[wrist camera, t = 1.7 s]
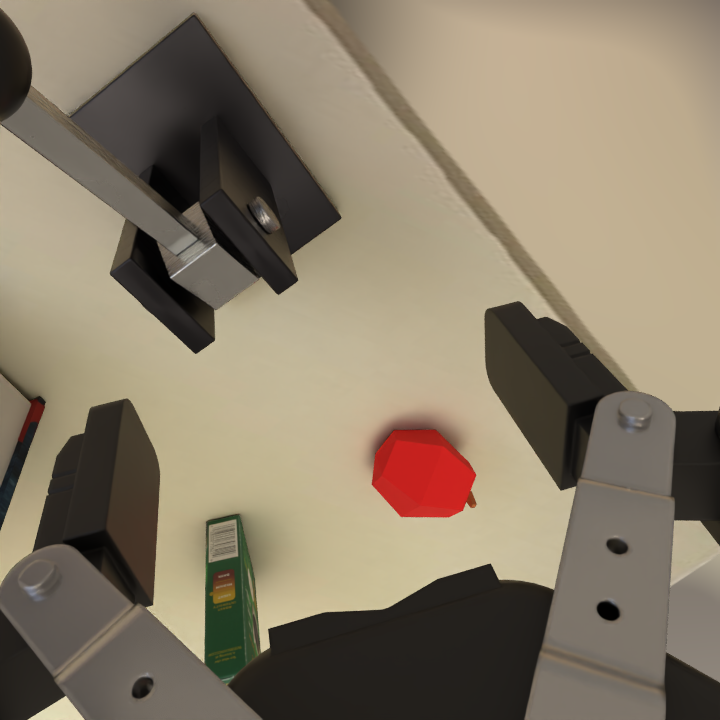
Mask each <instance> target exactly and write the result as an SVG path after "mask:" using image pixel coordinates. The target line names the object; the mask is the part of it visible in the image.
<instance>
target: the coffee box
mask: <svg viewBox="0 0 720 720" xmlns="http://www.w3.org/2000/svg"><path fill="white" fill-rule="evenodd" d="M259 654H261V651H260V638H259V625H258V612H257V601H256V588H255V578H254V574H253V569H252V565H251V561H250V557H249V553H248V548H247V544H246V539H245V535H244V531H243V527H242V522H241V518H240V516H239V515H235V516H231V517H226V518H222V519H217V520H211V521H207V522H206V584H205V665H206V666H207V667H208V668H209V669H210V670H211V671H212V672H213V673H214V674H216V675H217V676H218V677H219V678H220V679H221V680H222V681H223V682H224V683H225V684H226V685H227V684H228V683H229V682H230V681H231V680H232V679H233V678H234V677H235V675H236V674H237V673H238V672H239V671H240V670H241V669H242V668H243V667H244V666H246V665H247V664H248V663H249V662H250V661H251V660H253V659H254V658H255V657H257V656H258V655H259Z"/></svg>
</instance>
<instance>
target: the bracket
mask: <svg viewBox="0 0 720 720" xmlns="http://www.w3.org/2000/svg"><path fill="white" fill-rule="evenodd" d="M68 117H69V118H70V119H71V120H73V121H74V122H75V123H76V124H77V125H78V126H80V127H81V128H82V129H83V130H84V131H85V132H87V133H88V134H89V135H90V136H91V137H93V138H94V139H95V140H96V141H97V142H98V143H100V144H101V145H102V146H103V147H104V148H105V149H107V150H108V151H109V152H110V153H111V154H112V155H114V156H115V157H116V158H117V159H118V160H120V161H121V162H122V163H123V164H124V165H125V166H127V167H128V168H129V169H130V170H131V171H132V172H134V173H135V174H136V175H137V176H138V177H140V178H141V179H142V180H143V181H144V182H145V183H147V184H148V185H149V186H150V187H151V188H152V189H154V190H155V191H156V192H157V193H158V194H160V195H161V196H162V197H163V198H164V199H165V200H167V201H168V202H169V203H170V204H171V205H172V206H174V207H175V208H176V209H177V210H178V211H180V212H181V213H183V212H185V211H186V210H187V209H189V208H190V207H191V206H193V205H194V204H195V203H196V202H199V205H200V208H201V209H202V210H203V211H204V212H205V213H206V214H207V215H208V217H209V218H210V219H211V220H212V221H213V222H214V223H215V225H216V226H217V227H218V228H219V229H220V230H221V231H222V232H223V234H224V235H225V236H226V237H227V238H228V239H229V240H230V242H231V243H232V244H233V245H234V246H235V247H236V248H237V249H238V251H239V252H240V253H241V254H242V255H243V256H244V257H245V259H246V260H247V261H248V262H249V263H250V264H251V265H252V267H253V268H254V269H255V271H256V273H257V275H258V277H259V278H260V277H262V278H263V279H264V280H265V281H266V282H267V284H268V285H269V286H270V287H271V288H272V289H273V290H274V291H275V293H276V294H278V295H279V294H281V293H282V292H283V291H285V290H286V289H288V288H289V287H290V286H292V285H293V284H295V283H296V282H297V281H298V278H297V274H296V271H295V267H294V264H293V260H292V257H291V255H292V254H293V253H294V252H296V251H297V250H299V249H300V248H301V247H303V246H304V245H305V244H307V243H308V242H310V241H311V240H312V239H314V238H315V237H317V236H318V235H319V234H321V233H322V232H323V231H325V230H326V229H328V228H329V227H330V226H332V225H333V224H334V223H336V222H337V221H339V220H340V219H341V216H340V214H339V212H338V210H337V208H336V207H335V206H334V204H333V203H332V201H331V200H330V199H329V197H328V196H327V195H326V193H325V192H324V190H323V189H322V188H321V186H320V185H319V183H318V182H317V181H316V179H315V178H314V176H313V175H312V174H311V172H310V171H309V170H308V168H307V167H306V165H305V164H304V163H303V161H302V160H301V158H300V157H299V156H298V154H297V153H296V152H295V150H294V149H293V147H292V146H291V145H290V143H289V142H288V140H287V139H286V138H285V136H284V135H283V133H282V132H281V131H280V129H279V128H278V127H277V125H276V124H275V122H274V121H273V120H272V118H271V117H270V115H269V114H268V113H267V111H266V110H265V108H264V107H263V106H262V104H261V103H260V102H259V100H258V99H257V97H256V96H255V95H254V93H253V92H252V90H251V89H250V88H249V86H248V85H247V83H246V82H245V81H244V79H243V78H242V77H241V75H240V74H239V72H238V71H237V70H236V68H235V67H234V65H233V64H232V63H231V61H230V60H229V59H228V57H227V56H226V54H225V53H224V52H223V50H222V49H221V47H220V46H219V45H218V43H217V42H216V40H215V39H214V38H213V36H212V35H211V34H210V32H209V31H208V29H207V28H206V27H205V25H204V24H203V22H202V21H201V20H200V18H199V17H198V15H197V14H196V13H192V14H191V15H190V16H189V17H188V18H186V19H185V20H184V21H183V22H182V23H180V24H179V25H178V26H177V27H175V28H174V29H173V30H172V31H171V32H169V33H168V34H167V35H166V36H165V37H163V38H162V39H161V40H160V41H159V42H157V43H156V44H155V45H154V46H153V47H151V48H150V49H149V50H148V51H147V52H145V53H144V54H143V55H142V56H140V57H139V58H138V59H137V60H136V61H134V62H133V63H132V64H131V65H130V66H128V67H127V68H126V69H125V70H124V71H122V72H121V73H120V74H119V75H118V76H116V77H115V78H114V79H113V80H111V81H110V82H109V83H108V84H107V85H105V86H104V87H103V88H102V89H101V90H99V91H98V92H97V93H96V94H95V95H93V96H92V97H91V98H90V99H89V100H87V101H86V102H85V103H84V104H83V105H81V106H80V107H79V108H78V109H76V110H75V111H74V112H73V113H72V114H70V115H69V116H68ZM110 275H111V276H112V277H113V278H114V279H115V280H116V281H118V282H119V283H120V284H121V285H122V286H123V287H124V288H125V289H126V290H127V291H128V292H129V293H130V294H132V295H133V296H134V297H135V298H136V299H137V300H138V301H139V302H140V303H141V304H142V305H143V306H144V308H145V309H146V310H147V311H149V312H150V313H151V314H153V315H154V316H155V317H156V318H157V319H158V320H159V321H161V322H162V323H163V324H164V325H165V326H166V327H167V328H168V329H169V330H170V331H171V332H172V333H173V334H174V335H176V336H177V337H178V338H179V339H180V340H181V341H182V342H183V343H184V344H185V345H186V346H187V347H188V348H190V349H191V350H192V351H193V352H194V353H195V354H197V353H198V352H200V351H201V350H202V349H204V348H205V347H207V346H208V345H209V344H211V343H212V342H214V341H215V321H214V309H213V308H212V307H210V306H209V305H207V304H206V303H204V302H203V301H202V300H200V299H199V298H197V297H196V296H194V295H193V294H191V293H190V292H189V291H187V290H186V289H184V288H183V287H181V286H180V285H178V284H177V283H176V282H174V281H173V280H171V279H170V278H169V275H168V272H167V270H166V267H165V264H164V261H163V259H162V256H161V253H160V251H159V248H158V245H157V243H156V240H154V239H153V238H152V237H150V236H149V235H148V234H146V233H145V232H144V231H142V230H141V229H140V228H138V227H137V226H136V225H134V224H133V223H132V222H130V221H129V220H128V219H126V220H125V224H124V227H123V230H122V234H121V237H120V241H119V244H118V247H117V251H116V254H115V257H114V261H113V264H112V268H111V271H110Z"/></svg>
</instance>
